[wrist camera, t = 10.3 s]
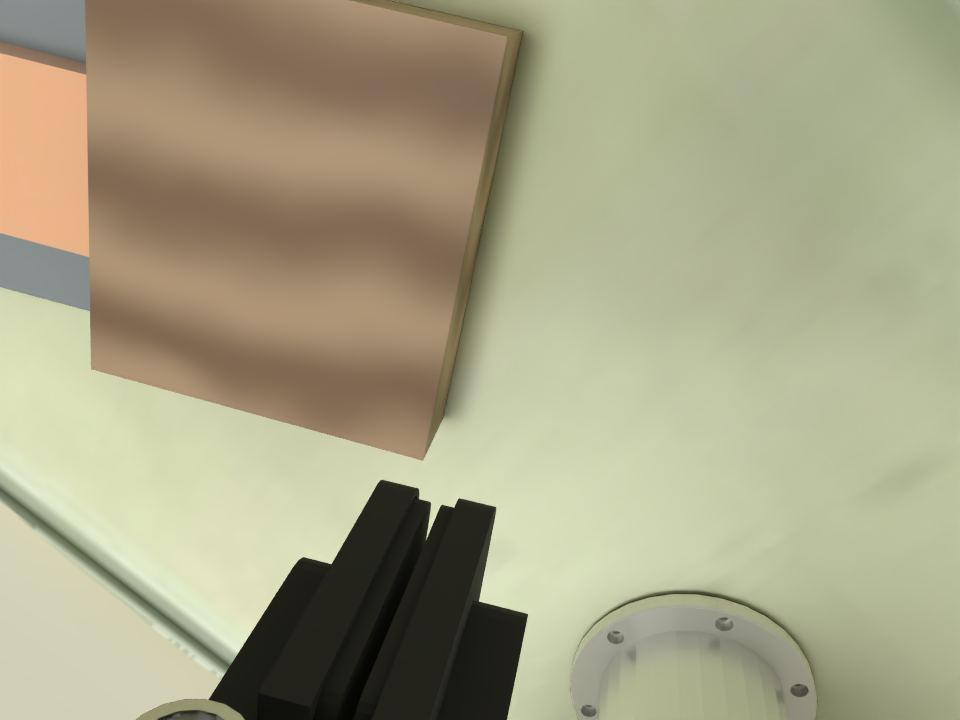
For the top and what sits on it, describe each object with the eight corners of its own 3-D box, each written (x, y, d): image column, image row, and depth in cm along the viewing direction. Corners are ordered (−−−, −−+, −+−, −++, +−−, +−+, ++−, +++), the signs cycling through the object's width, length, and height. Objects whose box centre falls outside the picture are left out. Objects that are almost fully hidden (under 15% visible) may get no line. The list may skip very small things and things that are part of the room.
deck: (442, 418, 40) (423, 460, 36) (139, 336, 41) (91, 369, 38) (522, 31, 32) (507, 36, 29) (144, -56, 33) (84, -61, 30)
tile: (127, 248, 39) (102, 260, 37) (-27, 206, 39) (-60, 217, 38) (129, 73, 35) (101, 78, 33) (-41, 31, 36) (-77, 33, 34)
